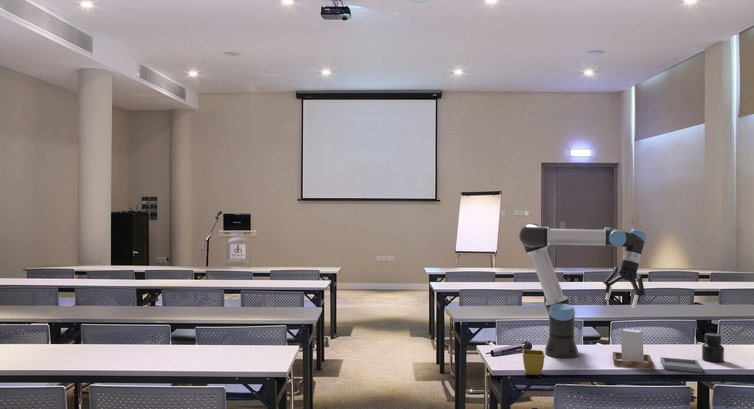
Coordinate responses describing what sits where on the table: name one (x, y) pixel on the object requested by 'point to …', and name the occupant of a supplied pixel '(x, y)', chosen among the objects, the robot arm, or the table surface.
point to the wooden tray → (632, 363)
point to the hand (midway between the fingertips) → (620, 304)
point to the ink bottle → (713, 348)
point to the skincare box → (632, 345)
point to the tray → (681, 365)
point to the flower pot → (533, 361)
